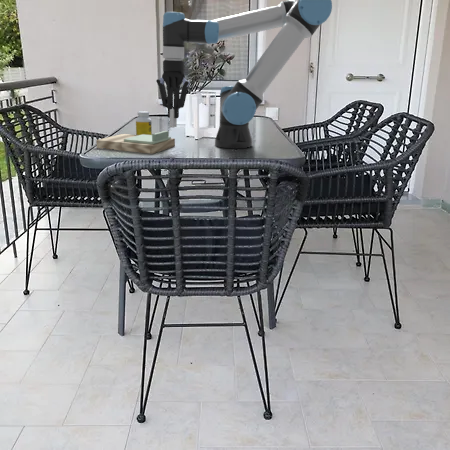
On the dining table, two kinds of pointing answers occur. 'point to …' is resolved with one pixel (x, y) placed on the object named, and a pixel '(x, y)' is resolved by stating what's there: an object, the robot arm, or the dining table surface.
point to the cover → (150, 138)
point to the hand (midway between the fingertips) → (173, 126)
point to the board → (133, 144)
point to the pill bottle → (143, 123)
